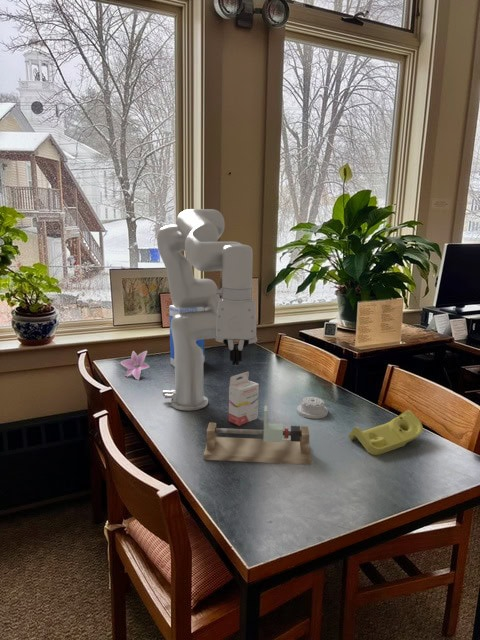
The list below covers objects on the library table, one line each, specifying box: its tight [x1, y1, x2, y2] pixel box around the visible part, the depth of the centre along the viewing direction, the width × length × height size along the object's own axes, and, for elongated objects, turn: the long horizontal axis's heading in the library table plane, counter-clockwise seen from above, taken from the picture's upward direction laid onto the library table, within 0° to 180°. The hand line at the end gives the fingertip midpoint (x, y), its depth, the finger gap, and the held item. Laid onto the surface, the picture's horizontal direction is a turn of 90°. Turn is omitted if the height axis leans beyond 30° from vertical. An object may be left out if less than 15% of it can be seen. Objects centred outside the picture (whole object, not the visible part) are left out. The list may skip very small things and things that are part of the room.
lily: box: [119, 350, 151, 381], centre depth 184 cm, size 12×12×10 cm
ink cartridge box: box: [228, 371, 260, 427], centre depth 145 cm, size 9×5×15 cm, turn 134°
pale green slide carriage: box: [263, 404, 284, 442], centre depth 125 cm, size 5×4×9 cm
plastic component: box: [348, 409, 424, 456], centre depth 133 cm, size 20×7×10 cm
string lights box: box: [168, 304, 206, 367], centre depth 197 cm, size 13×8×26 cm, turn 133°
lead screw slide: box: [203, 422, 312, 465], centre depth 126 cm, size 28×10×8 cm, turn 86°
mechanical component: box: [296, 396, 329, 420], centre depth 152 cm, size 10×4×10 cm
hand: (235, 363), depth 122 cm, fingers closed
